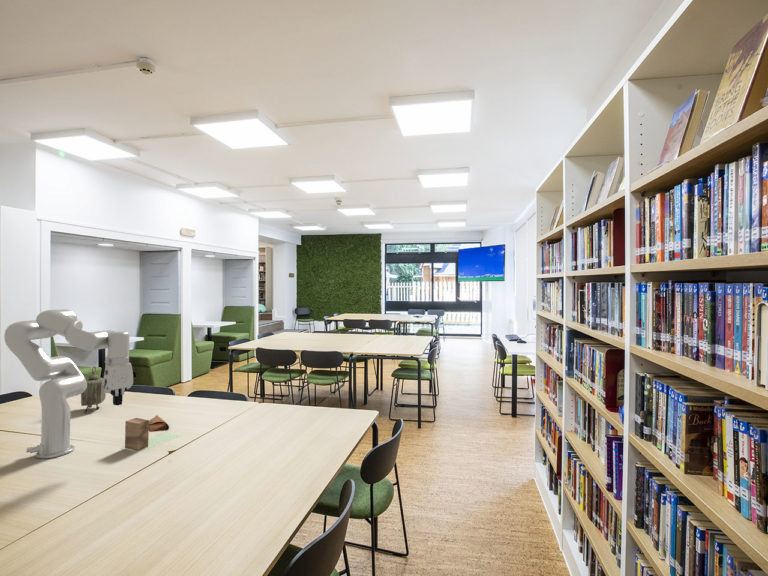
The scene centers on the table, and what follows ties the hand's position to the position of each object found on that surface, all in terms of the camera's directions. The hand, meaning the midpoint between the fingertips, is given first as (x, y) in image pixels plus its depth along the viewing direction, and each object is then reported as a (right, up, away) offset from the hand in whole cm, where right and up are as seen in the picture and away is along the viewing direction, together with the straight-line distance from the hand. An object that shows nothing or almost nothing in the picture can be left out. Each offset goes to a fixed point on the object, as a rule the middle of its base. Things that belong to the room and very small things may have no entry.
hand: (117, 404), depth 165 cm
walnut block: (+3, -22, +8) cm, 23 cm away
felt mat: (+6, -22, +15) cm, 27 cm away
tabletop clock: (-57, -22, +63) cm, 88 cm away
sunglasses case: (-5, -23, +36) cm, 43 cm away
